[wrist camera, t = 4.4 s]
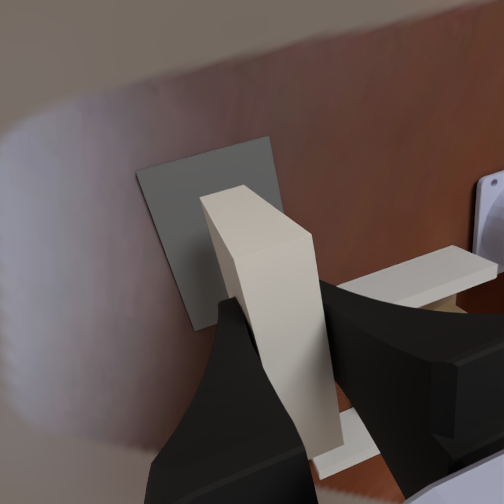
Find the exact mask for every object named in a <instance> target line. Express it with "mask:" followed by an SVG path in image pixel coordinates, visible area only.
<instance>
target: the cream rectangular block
mask: <svg viewBox="0 0 504 504" xmlns="http://www.w3.org/2000/svg"><path fill="white" fill-rule="evenodd" d="M199 198H200V201H201V204H202V208H203V211H204V215H205V218H206V221H207V225H208V228H209V231H210V235H211V238H212V242H213V245H214V248H215V252H216V255H217V258H218V262H219V265H220V269H221V272H222V275H223V279H224V282H225V285H226V289H227V292H228V296H229V298H232V297H234V296H235V297H236V299H237V300H238V302H239V304H240V306H241V308H242V311H243V315H244V318H245V322H246V325H247V329H248V332H249V336H250V340H251V343H252V345H253V348H254V350H255V352H256V354H257V356H258V358H259V360H260V362H261V364H262V366H263V368H264V370H265V372H266V374H267V376H268V378H269V380H270V382H271V384H272V386H273V387H274V389H275V391H276V393H277V395H278V397H279V398H280V400H281V402H282V404H283V405H284V407H285V409H286V410H287V412H288V414H289V415H290V417H291V419H292V420H293V422H294V424H295V426H296V428H297V431H298V433H299V435H300V437H301V439H302V442H303V444H304V446H305V449H306V453H307V457H308V460H310V459H312V458H315V457H317V456H319V455H321V454H324V453H326V452H328V451H331V450H333V449H335V448H338V447H340V446H342V445H344V440H343V433H342V427H341V421H340V414H339V408H338V401H337V395H336V388H335V382H334V376H333V369H332V363H331V356H330V350H329V343H328V337H327V331H326V324H325V318H324V311H323V305H322V298H321V292H320V286H319V279H318V273H317V266H316V260H315V253H314V247H313V241H312V235H311V234H310V233H309V232H307V231H306V230H305V229H303V228H302V227H301V226H299V225H298V224H296V223H295V222H294V221H292V220H291V219H290V218H288V217H287V216H286V215H284V214H283V213H282V212H280V211H279V210H277V209H276V208H275V207H273V206H272V205H271V204H269V203H268V202H267V201H265V200H264V199H263V198H261V197H260V196H258V195H257V194H256V193H254V192H253V191H252V190H250V189H249V188H248V187H246V186H245V185H241V186H238V187H234V188H231V189H227V190H224V191H220V192H217V193H213V194H210V195H206V196H203V197H199Z"/></svg>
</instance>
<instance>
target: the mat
mask: <svg viewBox="0 0 504 504" xmlns="http://www.w3.org/2000/svg"><path fill="white" fill-rule="evenodd" d="M136 174H137V177H138V180H139V183H140V185H141V188H142V191H143V193H144V196H145V199H146V201H147V204H148V207H149V210H150V212H151V215H152V218H153V220H154V223H155V226H156V228H157V231H158V234H159V237H160V239H161V242H162V245H163V247H164V250H165V253H166V255H167V258H168V261H169V264H170V266H171V269H172V272H173V274H174V277H175V280H176V282H177V285H178V288H179V291H180V293H181V296H182V299H183V301H184V304H185V307H186V309H187V312H188V315H189V318H190V320H191V323H192V326H193V328H194V331H198V330H201V329H203V328H206V327H209V326H212V325H215V324H217V321H218V306H217V305H218V303H219V302H220V301H223V300H226V299H229V296H228V292H227V289H226V285H225V282H224V279H223V275H222V272H221V269H220V265H219V262H218V258H217V255H216V252H215V248H214V245H213V242H212V238H211V235H210V231H209V228H208V225H207V221H206V218H205V215H204V211H203V208H202V204H201V201H200V198H199V197H203V196H206V195H210V194H213V193H217V192H220V191H224V190H227V189H231V188H234V187H238V186H241V185H245V186H246V187H248V188H249V189H250V190H252V191H253V192H254V193H256V194H257V195H258V196H260V197H261V198H263V199H264V200H265V201H267V202H268V203H269V204H271V205H272V206H273V207H275V208H276V209H277V210H279V211H280V212H282V213H283V207H282V202H281V197H280V191H279V186H278V181H277V176H276V170H275V165H274V160H273V155H272V149H271V144H270V139H269V136H265V137H262V138H258V139H254V140H250V141H247V142H243V143H239V144H235V145H232V146H228V147H224V148H220V149H217V150H213V151H209V152H205V153H202V154H198V155H194V156H190V157H187V158H183V159H179V160H175V161H172V162H168V163H164V164H160V165H157V166H153V167H149V168H145V169H142V170H138V171H136ZM283 214H284V213H283Z"/></svg>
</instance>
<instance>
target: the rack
mask: <svg viewBox="0 0 504 504" xmlns="http://www.w3.org/2000/svg"><path fill="white" fill-rule="evenodd" d="M497 269H498V264H496V263H494V262H492V261H489V260H487V259H484V258H482V257H480V256H477V255H475V254H473V253H470V252H468V251H466V250H463V249H461V248H458V247H456V246H454V245H451V246H449V247H446V248H443V249H440V250H437V251H434V252H431V253H429V254H426V255H423V256H420V257H417V258H414V259H412V260H409V261H406V262H403V263H400V264H397V265H394V266H392V267H389V268H386V269H383V270H380V271H377V272H375V273H372V274H369V275H366V276H363V277H360V278H357V279H355V280H352V281H349V282H346V283H343V284H340V285H338V286H337V287H339V288H342V289H345V290H347V291H350V292H353V293H356V294H359V295H363V296H366V297H369V298H372V299H376V300H380V301H384V302H388V303H393V304H397V305H402V306H407V307H413V308H418V307H421V306H423V305H426V304H429V303H431V302H434V301H437V300H439V299H442V298H445V297H447V296H450V295H453V294H455V293H458V292H460V291H463V290H466V289H468V288H471V287H474V286H476V285H479V284H482V283H484V282H487V281H490V280H492V279H495V278H497ZM339 414H340V421H341V427H342V433H343V440H344V445H342V446H340V447H338V448H335V449H333V450H331V451H328V452H326V453H324V454H321V455H319V456H317V457H315V458H312V459H311V460H312V463H313V465H314V467H315V469H316V472H317V474H318V476H319V478H320V480H321V479H323V478H326V477H328V476H330V475H332V474H335V473H337V472H339V471H341V470H344V469H346V468H348V467H350V466H353V465H355V464H357V463H359V462H362V461H364V460H366V459H368V458H371V457H373V456H375V455H377V454H380V452H379V450H378V448H377V446H376V445H375V443H374V441H373V439H372V438H371V436H370V434H369V432H368V431H367V429H366V427H365V425H364V424H363V422H362V420H361V419H360V417H359V415H358V414H357V412H356V410H355V409H354V407H353V408H351V409H348V410H346V411H344V412H341V413H339Z"/></svg>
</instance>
